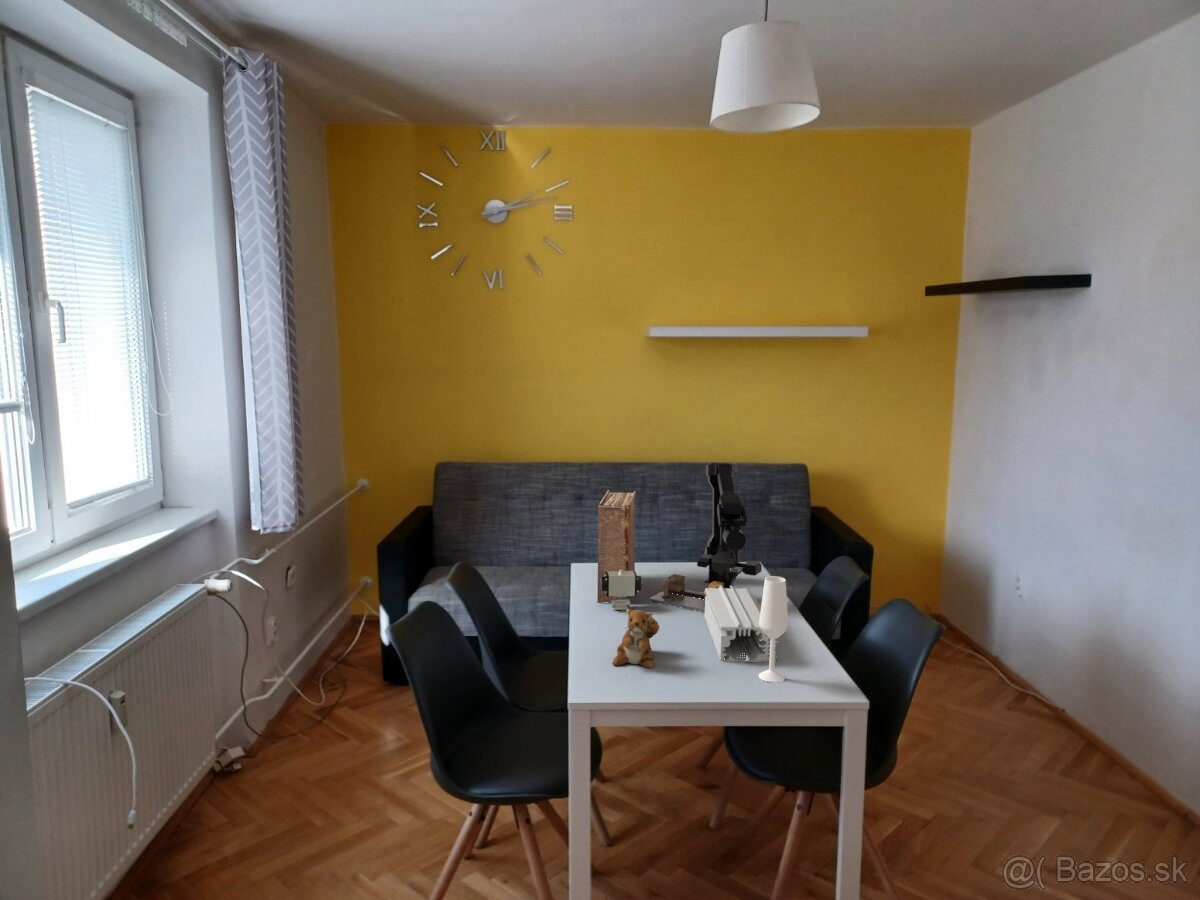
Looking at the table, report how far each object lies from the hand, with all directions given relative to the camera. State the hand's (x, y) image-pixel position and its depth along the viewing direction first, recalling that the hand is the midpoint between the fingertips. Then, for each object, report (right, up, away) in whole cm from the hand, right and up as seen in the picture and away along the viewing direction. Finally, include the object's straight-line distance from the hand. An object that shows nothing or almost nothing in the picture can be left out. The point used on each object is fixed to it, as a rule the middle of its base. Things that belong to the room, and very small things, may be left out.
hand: (728, 592), depth 239 cm
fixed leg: (-16, -1, +6) cm, 18 cm away
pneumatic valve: (-33, -4, -5) cm, 33 cm away
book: (-33, -2, +12) cm, 35 cm away
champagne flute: (+2, -11, -52) cm, 53 cm away
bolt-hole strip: (-11, -4, -1) cm, 12 cm away
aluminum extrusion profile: (-2, -8, -27) cm, 29 cm away
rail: (-5, -3, +4) cm, 7 cm away
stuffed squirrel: (-29, -9, -41) cm, 51 cm away
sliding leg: (-5, -2, -1) cm, 5 cm away
